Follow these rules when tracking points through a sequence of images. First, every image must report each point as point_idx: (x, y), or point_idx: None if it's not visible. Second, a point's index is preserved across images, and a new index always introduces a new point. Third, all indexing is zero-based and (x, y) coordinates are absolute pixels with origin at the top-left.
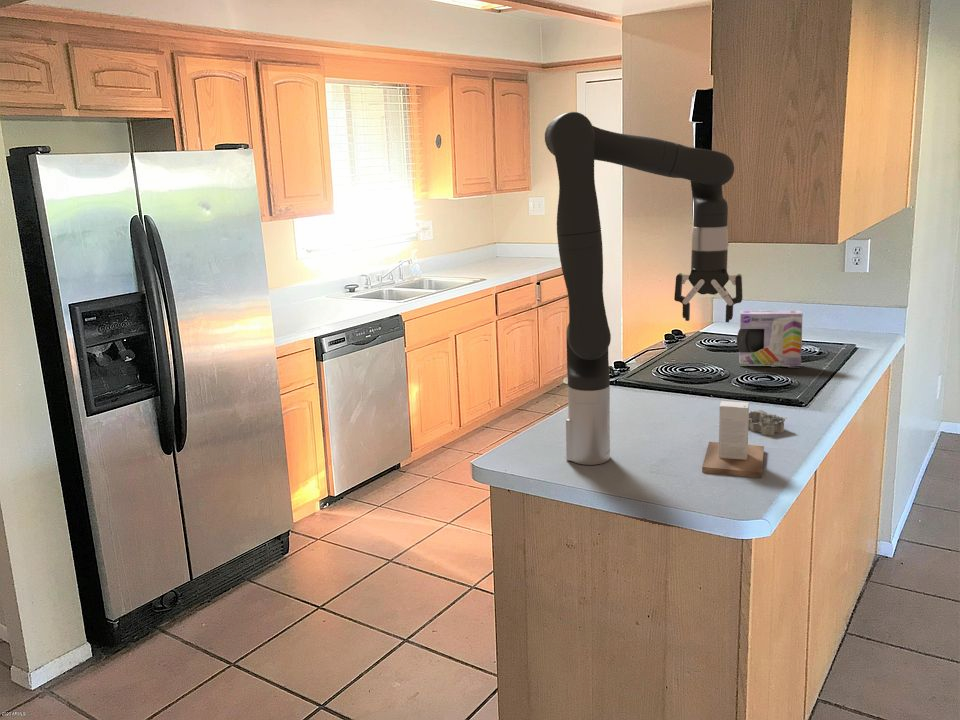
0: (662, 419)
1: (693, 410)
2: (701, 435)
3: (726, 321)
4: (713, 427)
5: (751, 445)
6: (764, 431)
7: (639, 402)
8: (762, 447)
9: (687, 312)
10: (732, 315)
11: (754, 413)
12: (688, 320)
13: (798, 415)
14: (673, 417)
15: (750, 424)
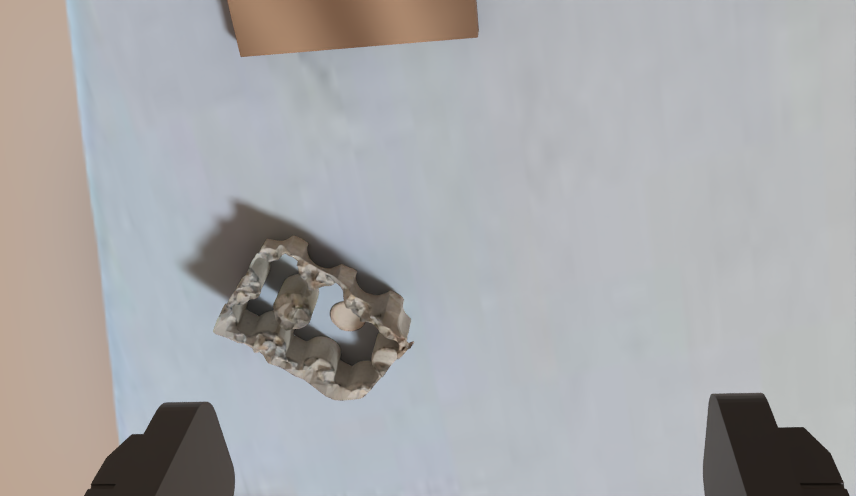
0: (724, 302)
1: (606, 422)
2: (533, 160)
3: (192, 404)
4: (499, 265)
5: (291, 48)
6: (290, 244)
7: (838, 462)
8: (242, 38)
9: (764, 483)
10: (94, 483)
11: (357, 383)
12: (714, 395)
13: (235, 447)
14: (679, 335)
15: (350, 282)
